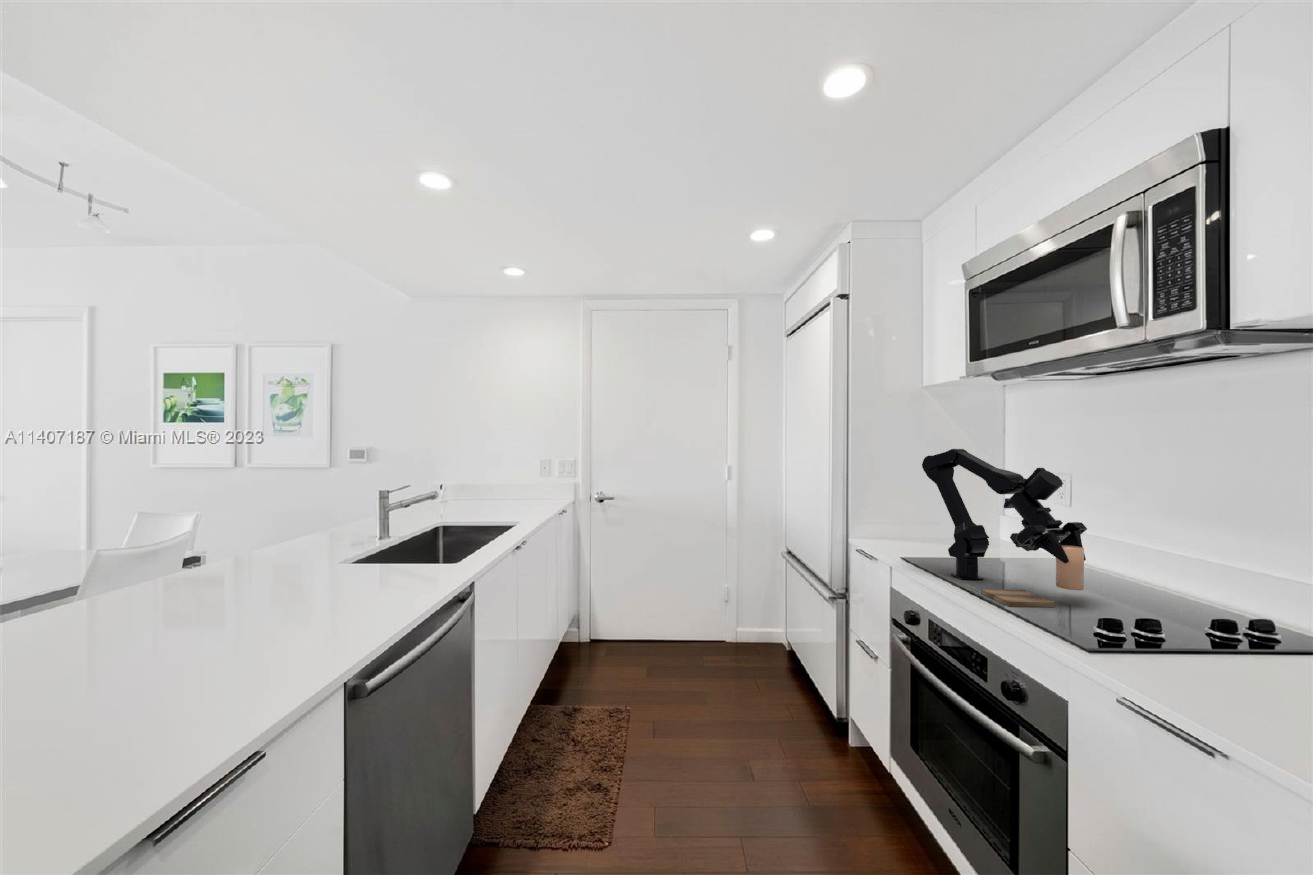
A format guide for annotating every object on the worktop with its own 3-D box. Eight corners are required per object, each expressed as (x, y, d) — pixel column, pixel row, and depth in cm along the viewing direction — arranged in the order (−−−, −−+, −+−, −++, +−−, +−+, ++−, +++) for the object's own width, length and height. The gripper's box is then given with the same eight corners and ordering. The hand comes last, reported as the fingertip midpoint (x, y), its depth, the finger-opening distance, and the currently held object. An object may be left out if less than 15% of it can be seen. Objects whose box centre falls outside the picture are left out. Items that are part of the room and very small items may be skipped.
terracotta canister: (1050, 584, 141) (1050, 544, 141) (1072, 584, 141) (1072, 545, 141) (1066, 590, 135) (1066, 549, 135) (1089, 590, 135) (1089, 549, 135)
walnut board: (981, 593, 147) (981, 589, 147) (1022, 594, 147) (1022, 589, 147) (1009, 606, 135) (1009, 601, 135) (1054, 607, 135) (1054, 602, 135)
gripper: (1036, 528, 156) (1077, 577, 145) (986, 531, 149) (1026, 582, 139) (1065, 503, 148) (1111, 552, 138) (1014, 505, 142) (1057, 557, 132)
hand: (1075, 561), depth 137 cm, fingers closed on terracotta canister, 6 cm apart
